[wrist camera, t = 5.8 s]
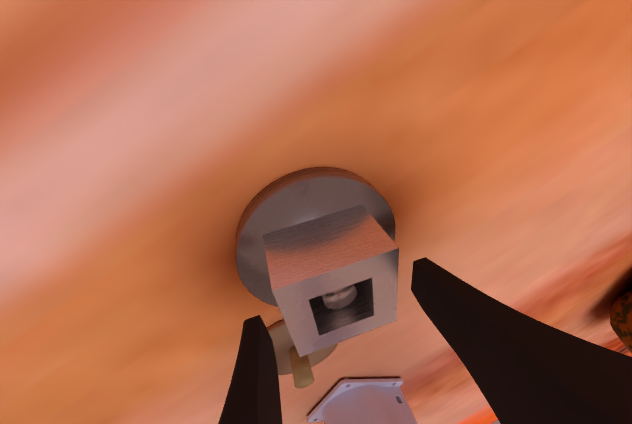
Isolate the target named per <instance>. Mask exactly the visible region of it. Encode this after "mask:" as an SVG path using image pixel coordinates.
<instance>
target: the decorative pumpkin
mask: <svg viewBox="0 0 632 424" xmlns="http://www.w3.org/2000/svg"><path fill="white" fill-rule="evenodd" d="M610 316H611V317H610V324H611V326H612V328H613V330H614V331H615V333H616V334H617V335H618V337H619V338H620V340H621V341H622V342H623V344H624V345H625V346H626V347H627V349H628V350H629V351H630V352H631V353H632V290H631V291H629V292H628V293H626V294H624V295H623V296H621V297H620V298H619V299H617V300H616V301H615V302H614V304H613V305H612V307H611V309H610Z"/></svg>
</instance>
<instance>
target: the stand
mask: <svg viewBox="0 0 632 424" xmlns="http://www.w3.org/2000/svg"><path fill="white" fill-rule="evenodd" d="M267 330H268V332H269V334H270V336H271V338H272V340H273V346H274V351H275V356H276V362H277V369H278V375H285V374H292V373H293V377H294V383H295V387H296V388H304V387H307V386H309V385H311V384H312V383H313V381H314V378H313V374H312V370H311V367H312V366H314V365H316V364H318V363H319V362H321V361H323V360H324V359H325V358H327V357H328V356H329V355H330V354H331V353H332V352H333V351H334V349H335V348H336V346H337V345H338V343H336V344H333V345H331V346H328V347H325V348H323V349H320V350H318V351H315V352H312V353H310V354H307V355H304V356H302V357H300V356H299V354H298V352H297V349H296V347H295V344H294V342H293V340H292V337H291V335H290V333H289V330H288V328H287V326H286V323H285V321H284V320H281V321H279V322H277V323H275V324H273V325H271V326H270V327H268V328H267Z"/></svg>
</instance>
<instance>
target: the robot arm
mask: <svg viewBox="0 0 632 424" xmlns="http://www.w3.org/2000/svg"><path fill="white" fill-rule="evenodd" d="M411 290H412V292H413V294H414V296H415V297H416V299H417V301H418V302H419V304H420V306H421V307H422V309H423V310H424V312H425V313H426V314H427V316H428V317H429V318H430V320H431V321H432V322H433V324H434V325H435V326H436V328H437V329H438V330H439V332H440V333H441V334H442V335H443V337H444V338H445V339H446V341H447V342H448V343H449V345H450V346H451V347H452V349H453V350H454V351H455V352H456V354H457V355H458V357H459V358H460V359H461V361H462V362H463V364H464V365H465V366H466V368H467V370H468V371H469V373H470V374H471V376H472V377H473V379H474V381H475V382H476V384H477V385H478V387H479V388H480V390H481V392H482V393H483V395H484V397H485V398H486V400H487V401H488V403H489V405H490V406H491V408H492V410H493V411H494V413H495V415H496V416H497V418H498V420H499V421H500V423H501V424H632V357H630V356H627V355H624V354H621V353H618V352H615V351H612V350H610V349H607V348H604V347H601V346H599V345H596V344H593V343H591V342H588V341H585V340H583V339H580V338H578V337H575V336H573V335H571V334H568V333H566V332H563V331H561V330H558V329H556V328H553V327H551V326H549V325H546V324H544V323H542V322H540V321H537V320H535V319H533V318H531V317H529V316H527V315H525V314H523V313H521V312H518V311H516V310H514V309H512V308H510V307H509V306H507V305H505V304H503V303H501V302H499V301H497V300H495V299H494V298H492V297H490V296H488V295H486V294H485V293H483V292H481V291H479V290H478V289H476V288H474V287H472V286H471V285H469V284H467V283H466V282H464V281H462V280H461V279H459V278H458V277H456V276H454V275H453V274H451V273H449V272H448V271H446V270H445V269H443V268H442V267H440V266H438V265H437V264H435V263H434V262H432V261H431V260H429V259H427V258H426V257H425V258H422V259H419V260H416V261H413V272H412V284H411ZM402 384H403V380H402V379H401V378H392V379H345V380H341V381H340V382H339V383H338V384H337V385H336V386H335V387H334V388H333V389H332V391H331V392H330V393H329V394H328V395H327V396H326V397H325V398H324V399H323V400H322V401H321V402H320V404H319V405H318V406H317V407H316V408H315V409H314V410H313V411H312V412H311V413H310V414H309V415H308V417H307V422H318V421H324V423H325V424H418V423H417V421H416V419H415V417H414V415H413V413H412V411H411V409H410V407H409V405H408V403H407V401H406V399H405V397H404V395H403V393H402V391H401V389H400V387H399V386H401V385H402ZM218 424H282V414H281V403H280V391H279V380H278V369H277V362H276V356H275V351H274V346H273V340H272V338H271V336H270V334H269V332H268V330H267V328H266V326H265V324H264V322H263V321H262V319H261V317H260V315H258V316H255V317H252V318H249V319H247V320H245V321H244V323H243V330H242V336H241V341H240V346H239V351H238V356H237V360H236V364H235V368H234V372H233V376H232V380H231V384H230V387H229V391H228V394H227V397H226V401H225V404H224V407H223V411H222V414H221V417H220V420H219V423H218Z"/></svg>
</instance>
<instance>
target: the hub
mask: <svg viewBox="0 0 632 424" xmlns="http://www.w3.org/2000/svg"><path fill="white" fill-rule="evenodd" d="M361 204H362V205H363V206H364V207H365V208H366V210H367V211H368V212H369V213H370V214H371V216H372V217H373V218H374V219H375V220H376V222H377V223H378V224H379V225H380V226H381V227H382V229H383V230H384V231H385V232H386V233H387V235H388V236H389V237H390V238H391V239H392V240H393V242H394V238H395V220H394V216H393V213H392V210H391V208H390V206H389V205H388V203H387V202H386V201H385V199H384V198H383V197H382V196H381V195H380V194H379V193H378V192H377V191H376V190H375V189H374V188H373V187H372V186H371V185H370V184H369V183H368V182H366V181H365V180H364V179H363V178H361V177H359V176H358V175H356V174H354V173H352V172H349V171H346V170H342V169H338V168H330V167H317V168H309V169H303V170H300V171H297V172H293V173H291V174H288V175H286V176H284V177H281V178H280V179H278V180H276V181H274V182H273V183H271V184H270V185H268V186H267V187H266V188H264V189H263V190H262V191H261V192H260V193H259V194H258V195H257V196H256V197H255V198H254V199H253V200H252V201H251V203H250V204H249V205H248V206H247V208H246V210H245V211H244V213H243V215H242V217H241V220H240V222H239V225H238V229H237V233H236V262H237V270H238V273H239V276H240V279H241V280H242V282H243V284H244V286H245V287H246V288H247V289H248V290H249V292H251V293H252V294H253V295H254V296H255V297H257V298H258V299H260V300H261V301H264V302H266V303H268V304H271V305H274V306H277V307H278V304H277V302H276V299H275V297H274V295H273V292H272V288H271V282H270V277H269V271H268V265H267V259H266V253H265V247H264V241H263V234H267V233H270V232H273V231H276V230H280V229H283V228H286V227H289V226H293V225H296V224H299V223H303V222H306V221H309V220H312V219H316V218H319V217H322V216H325V215H329V214H332V213H335V212H338V211H342V210H345V209H348V208H352V207H355V206H358V205H361ZM356 295H357V290H356V288H355V286H354V284H352V285H349V286H346V287H343V288H340V289H338V290H335V291H332V292H329V293H326V294H323V295H321V296H322V299H323V301H324V304H325V306H326V307H328V308H330V309H339V308H342V307H345V306H347V305H348V304H350V303H351V302H352V301H353V300H354V299H355V297H356Z"/></svg>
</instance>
